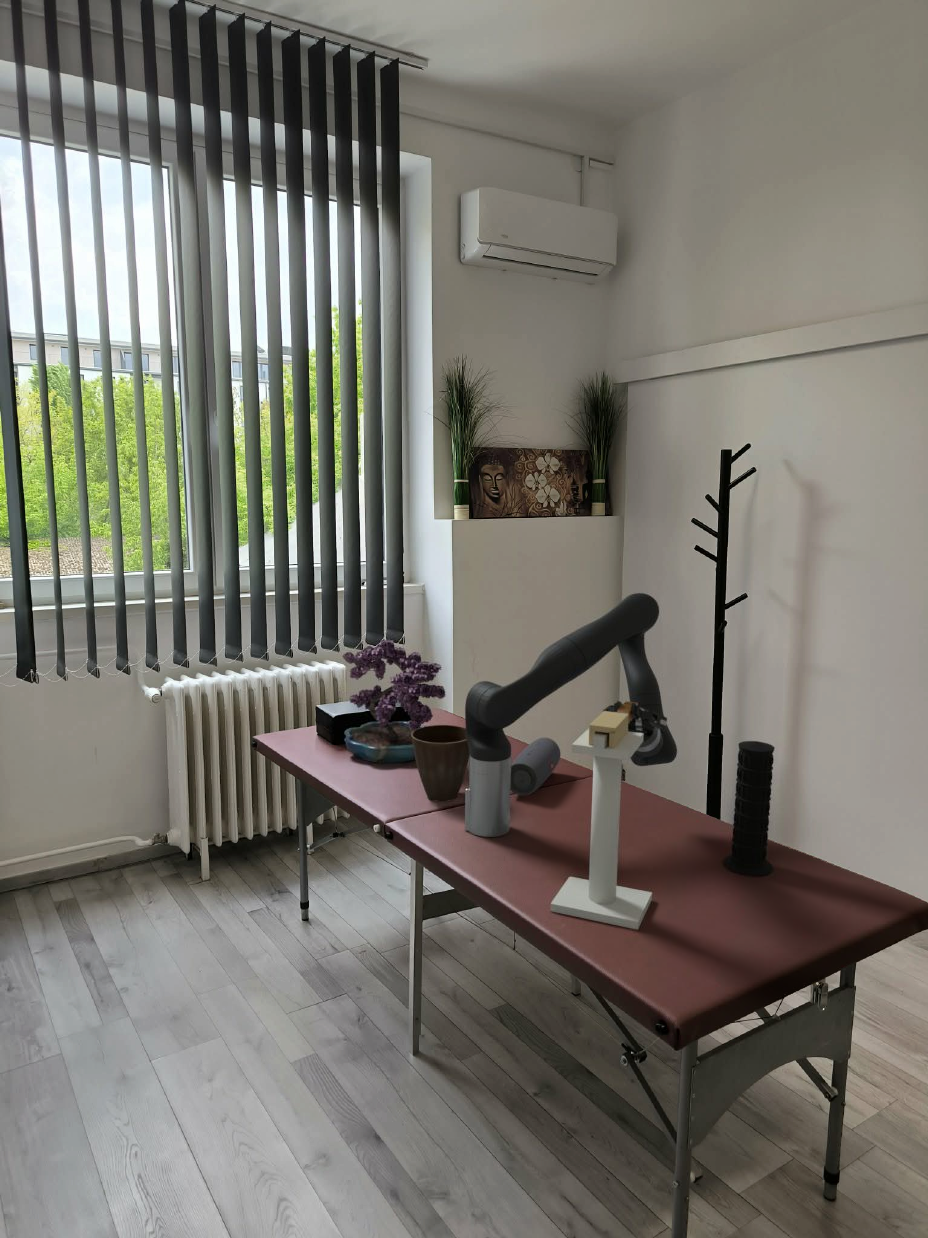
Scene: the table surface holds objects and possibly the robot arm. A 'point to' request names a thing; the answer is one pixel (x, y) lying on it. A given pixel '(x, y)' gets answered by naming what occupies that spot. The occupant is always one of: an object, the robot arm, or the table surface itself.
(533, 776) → the bluetooth speaker
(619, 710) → the grey orange square rod
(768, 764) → the handle grip
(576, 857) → the table surface
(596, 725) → the stand
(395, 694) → the bonsai tree
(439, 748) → the plant pot
